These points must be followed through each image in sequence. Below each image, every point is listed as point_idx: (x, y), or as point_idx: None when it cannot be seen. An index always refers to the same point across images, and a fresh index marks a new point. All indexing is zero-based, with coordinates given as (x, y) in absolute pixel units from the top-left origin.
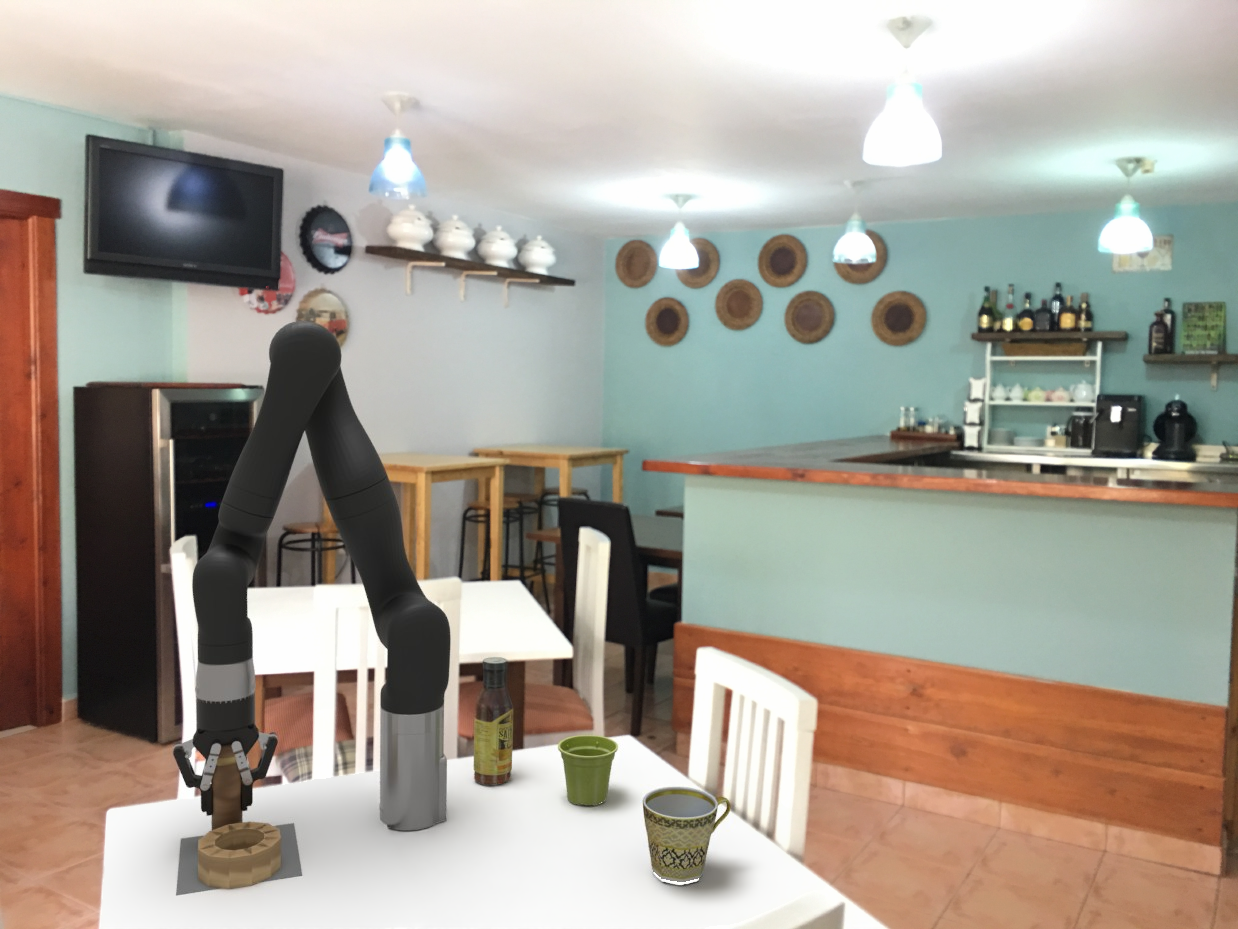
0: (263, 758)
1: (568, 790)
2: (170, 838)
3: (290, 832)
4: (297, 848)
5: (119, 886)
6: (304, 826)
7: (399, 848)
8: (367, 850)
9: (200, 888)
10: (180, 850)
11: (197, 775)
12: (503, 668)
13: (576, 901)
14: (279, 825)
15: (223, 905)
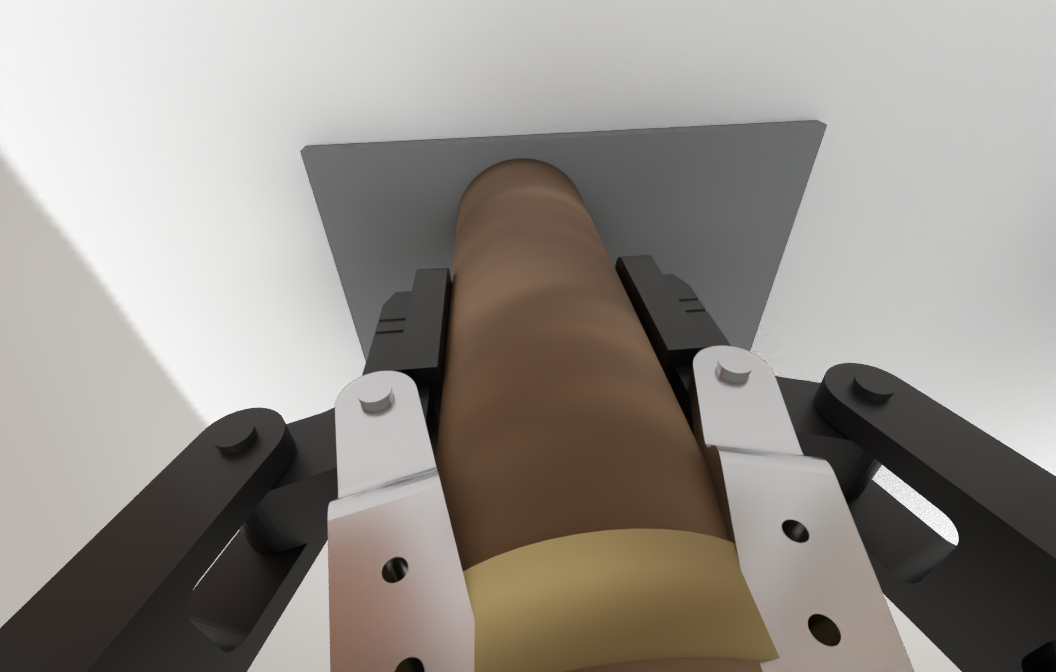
0: (928, 631)
1: None
2: (230, 78)
3: (775, 222)
4: (750, 345)
5: (216, 415)
6: (857, 130)
7: (1004, 372)
8: (926, 365)
9: None
10: (340, 270)
11: (307, 493)
12: None
13: None
14: (759, 134)
15: None
